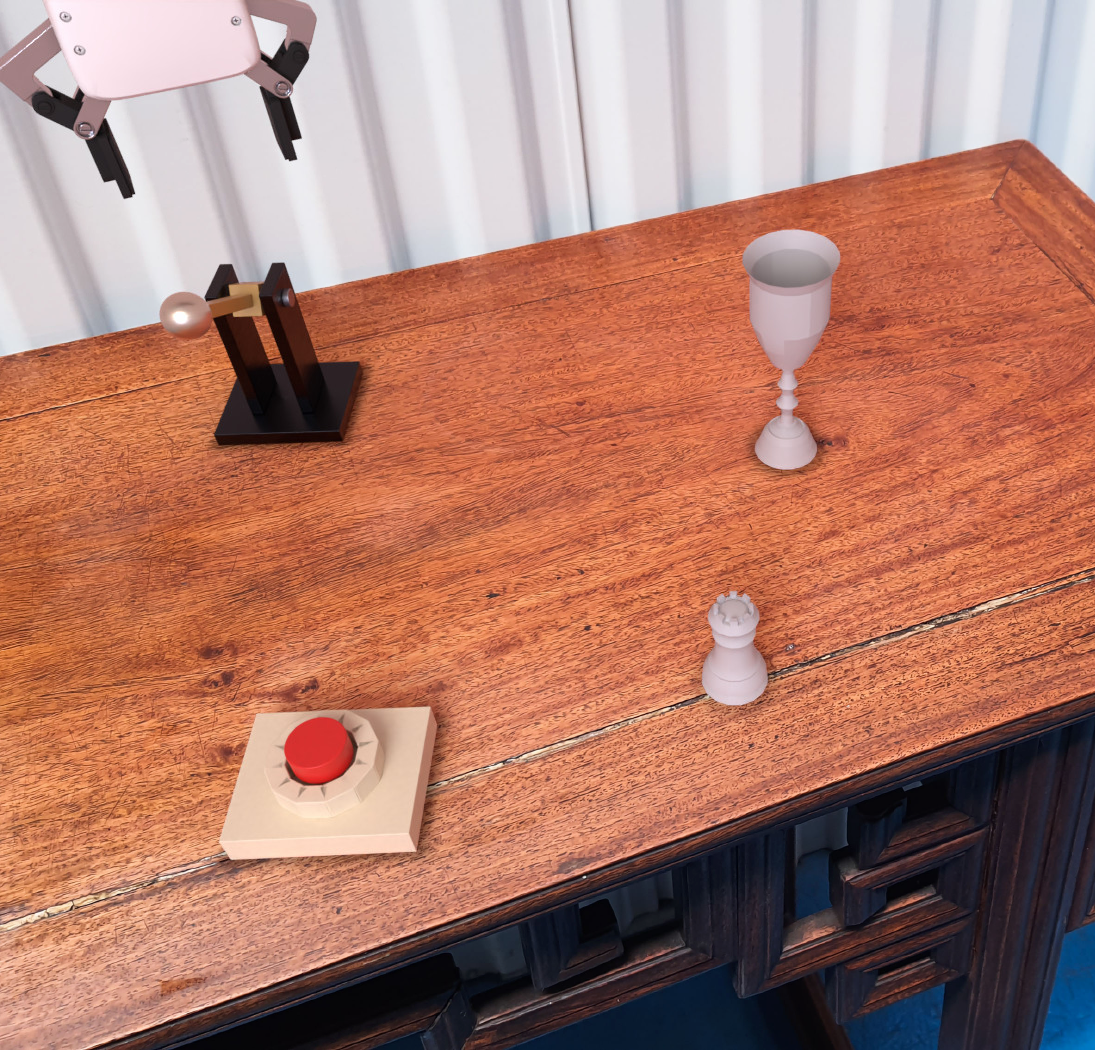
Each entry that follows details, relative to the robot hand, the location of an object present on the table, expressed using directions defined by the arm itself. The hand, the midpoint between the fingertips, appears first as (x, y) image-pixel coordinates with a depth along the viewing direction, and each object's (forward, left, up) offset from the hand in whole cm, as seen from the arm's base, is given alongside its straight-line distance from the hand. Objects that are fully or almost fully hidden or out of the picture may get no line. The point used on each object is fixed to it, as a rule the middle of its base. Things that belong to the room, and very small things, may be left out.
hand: (209, 169), depth 73 cm
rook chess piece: (+32, -21, -27) cm, 47 cm away
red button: (+7, -28, -23) cm, 37 cm away
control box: (+7, -28, -27) cm, 40 cm away
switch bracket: (-4, +9, -27) cm, 29 cm away
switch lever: (-4, +3, -14) cm, 15 cm away
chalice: (+37, +2, -27) cm, 46 cm away
